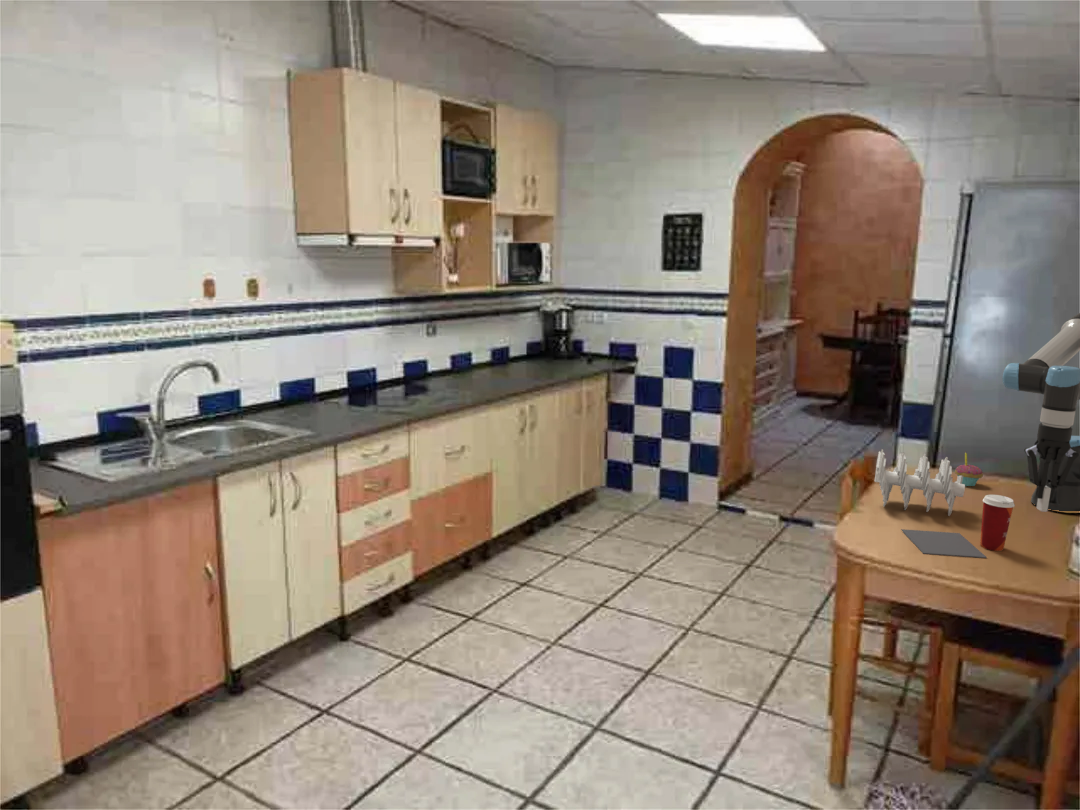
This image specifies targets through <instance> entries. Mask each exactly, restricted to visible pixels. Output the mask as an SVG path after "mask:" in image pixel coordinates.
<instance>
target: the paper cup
mask: <svg viewBox="0 0 1080 810" xmlns="http://www.w3.org/2000/svg"><path fill="white" fill-rule="evenodd" d="M982 503H983V504H982V505H983V506H982V515H981V529H980V541H979V543H980V544H979V546H980V547H981V548H982V549H985V550H989V551H992V552H993V551H994V552H1000V551H1002V552H1003V550H1004V548H1005V544H1006V540H1007V535H1008V531H1009V528H1010V527H1009V526H1010V522H1011V520H1012V519H1011V517H1012V514H1013V511H1014V508H1015V502H1014V499H1013V498H1011V497H1008V496H1005V495H1000V494H986V495H985V496H984V498H983V499H982Z"/></svg>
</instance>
